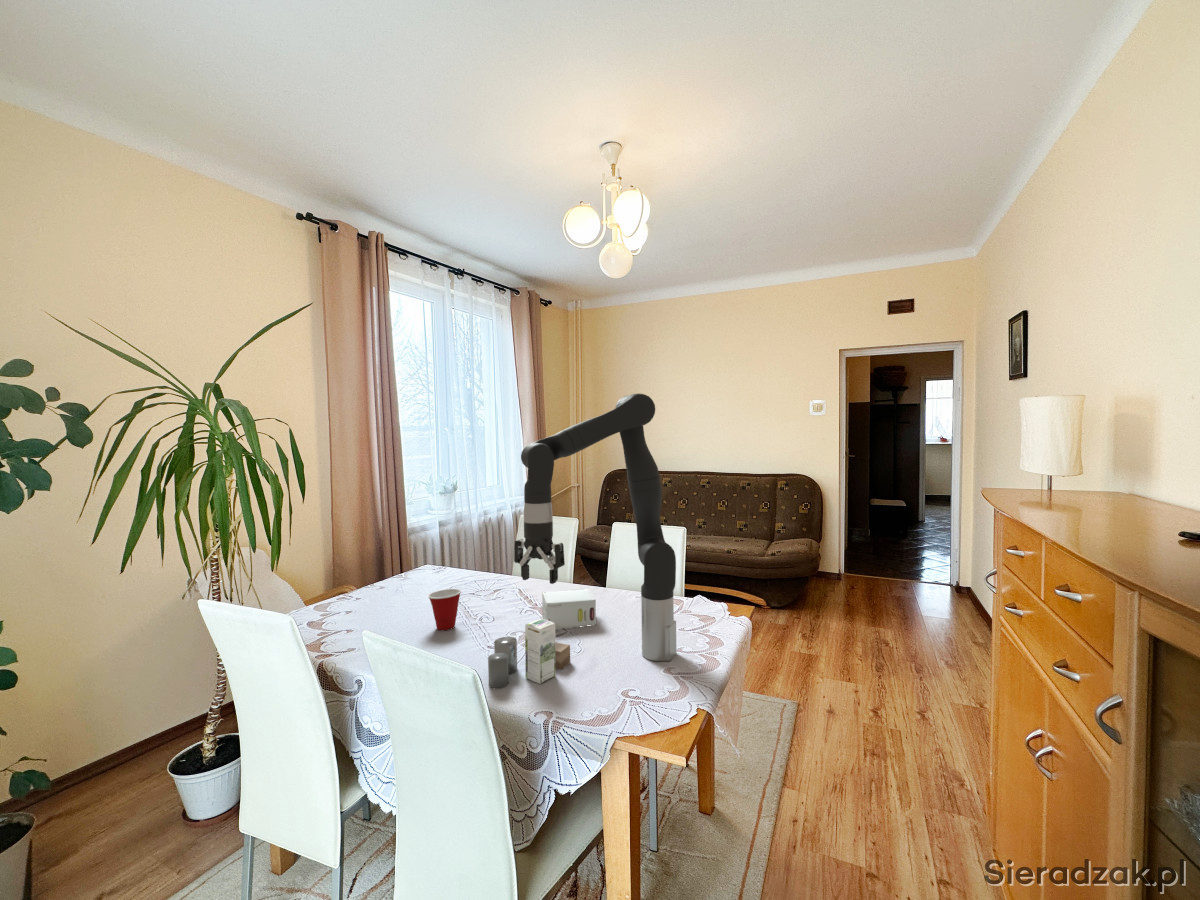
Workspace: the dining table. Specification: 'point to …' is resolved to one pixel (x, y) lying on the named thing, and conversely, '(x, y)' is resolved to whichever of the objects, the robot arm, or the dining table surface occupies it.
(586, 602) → the supplement box
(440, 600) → the plastic cup
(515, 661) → the dark metal tin
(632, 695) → the dining table surface
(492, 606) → the dining table surface
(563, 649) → the walnut block
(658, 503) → the robot arm
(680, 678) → the dining table surface
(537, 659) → the syrup box
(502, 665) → the charcoal plastic canister
